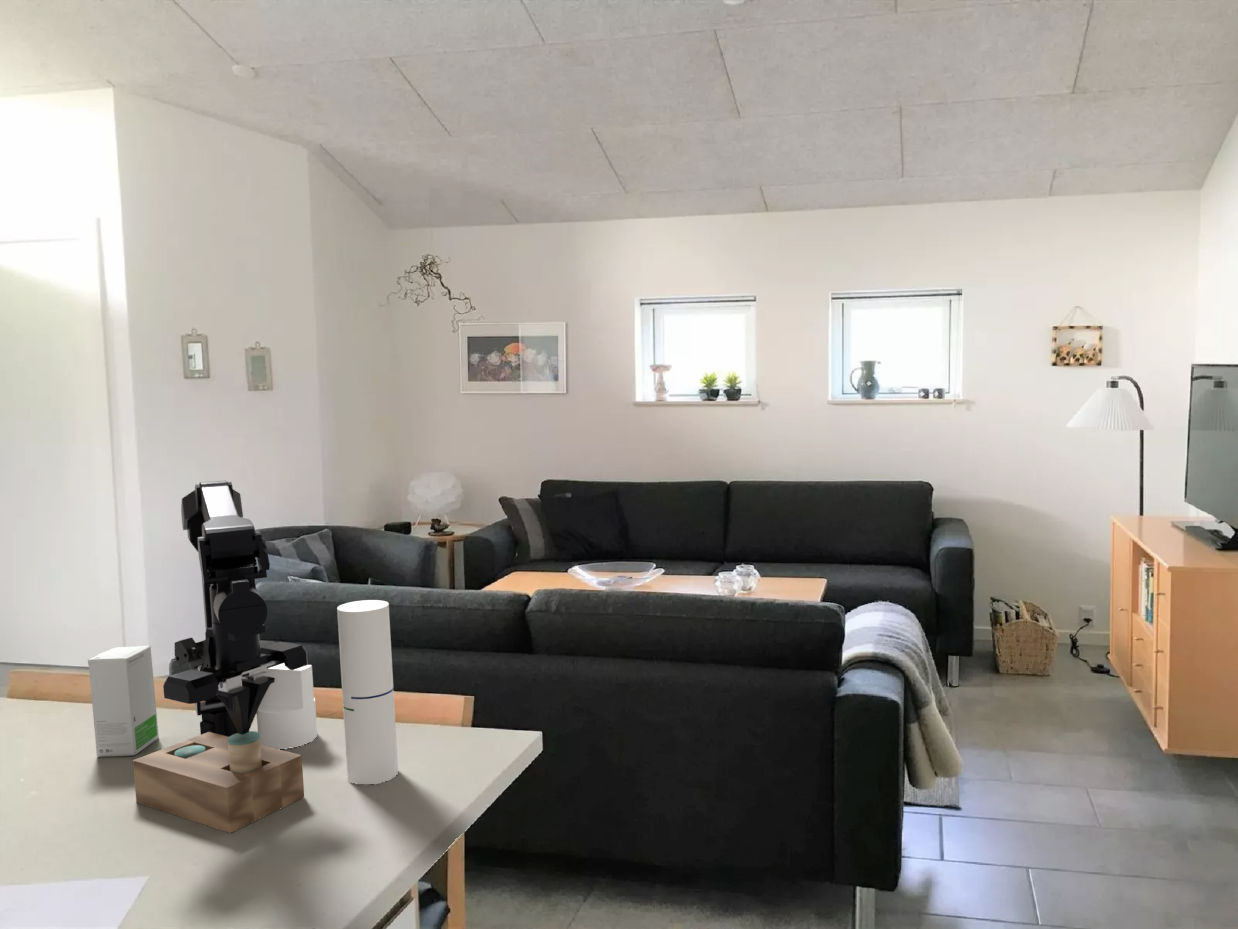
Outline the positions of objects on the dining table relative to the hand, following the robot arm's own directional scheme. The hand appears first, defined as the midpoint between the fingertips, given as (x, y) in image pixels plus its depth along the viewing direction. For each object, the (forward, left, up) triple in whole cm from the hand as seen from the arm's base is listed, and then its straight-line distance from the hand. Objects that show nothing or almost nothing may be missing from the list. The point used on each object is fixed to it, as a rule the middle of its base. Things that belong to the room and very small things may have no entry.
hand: (243, 733), depth 133 cm
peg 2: (0, 0, -6) cm, 6 cm away
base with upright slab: (-20, -16, -11) cm, 28 cm away
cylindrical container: (-16, +7, -11) cm, 21 cm away
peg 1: (0, -12, -10) cm, 16 cm away
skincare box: (-6, -37, -11) cm, 39 cm away
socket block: (0, -6, -10) cm, 12 cm away
